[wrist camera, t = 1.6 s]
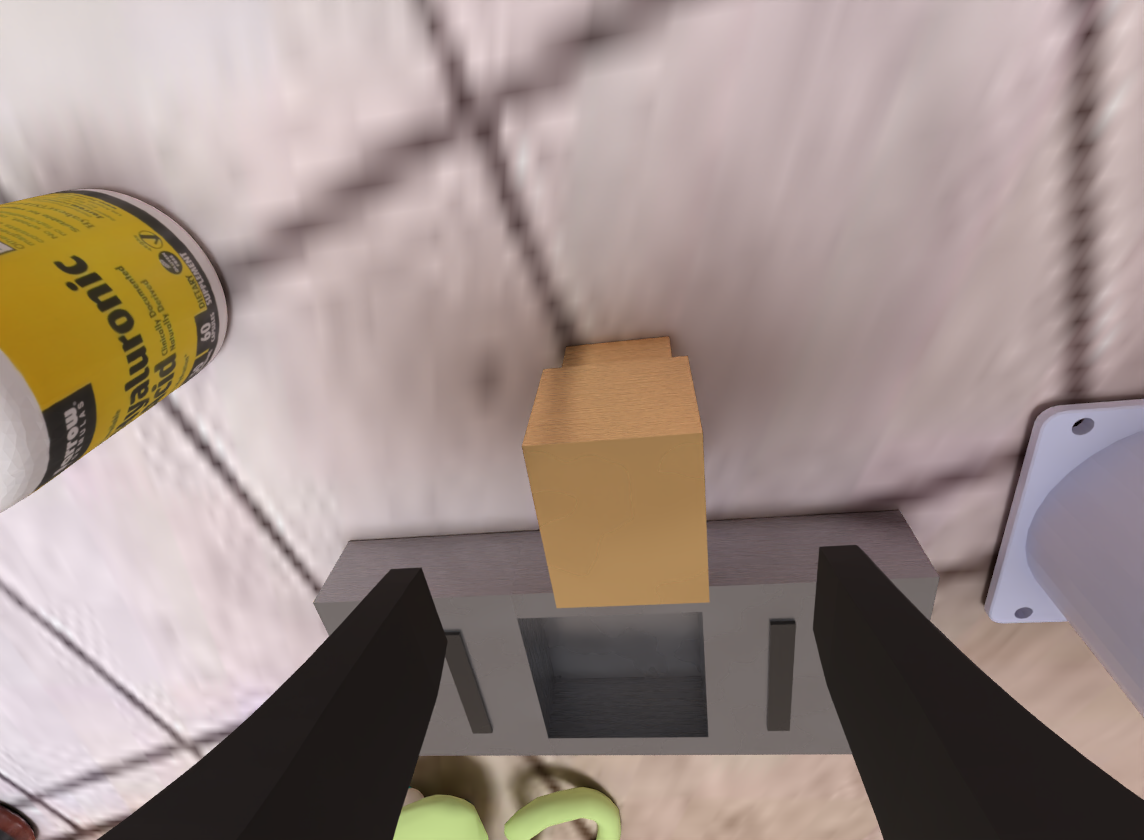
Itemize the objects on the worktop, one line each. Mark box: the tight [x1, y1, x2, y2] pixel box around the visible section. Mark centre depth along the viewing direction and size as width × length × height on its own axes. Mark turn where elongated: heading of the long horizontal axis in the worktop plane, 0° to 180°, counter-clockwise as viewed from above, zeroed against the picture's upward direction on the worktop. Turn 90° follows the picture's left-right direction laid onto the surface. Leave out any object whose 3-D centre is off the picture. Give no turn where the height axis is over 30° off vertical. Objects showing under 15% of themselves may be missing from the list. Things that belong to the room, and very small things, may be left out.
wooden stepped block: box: [522, 336, 710, 608], centre depth 15 cm, size 4×4×6 cm
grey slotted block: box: [313, 511, 939, 756], centre depth 21 cm, size 18×8×3 cm, turn 98°
